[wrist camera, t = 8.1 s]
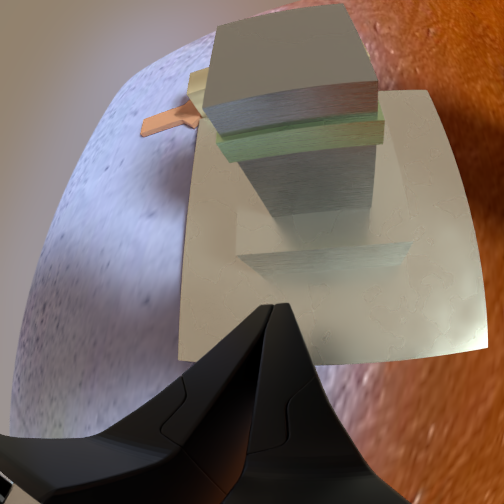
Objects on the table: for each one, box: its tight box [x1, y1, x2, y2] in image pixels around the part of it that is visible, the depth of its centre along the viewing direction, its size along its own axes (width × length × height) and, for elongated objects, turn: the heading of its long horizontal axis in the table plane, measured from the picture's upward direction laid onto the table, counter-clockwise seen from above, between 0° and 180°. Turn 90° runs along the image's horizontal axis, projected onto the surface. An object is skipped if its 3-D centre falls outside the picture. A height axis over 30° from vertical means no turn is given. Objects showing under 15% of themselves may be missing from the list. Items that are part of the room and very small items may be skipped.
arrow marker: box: [140, 100, 203, 137], centre depth 22 cm, size 6×3×1 cm, turn 92°
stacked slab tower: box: [178, 4, 488, 365], centre depth 12 cm, size 16×16×11 cm
